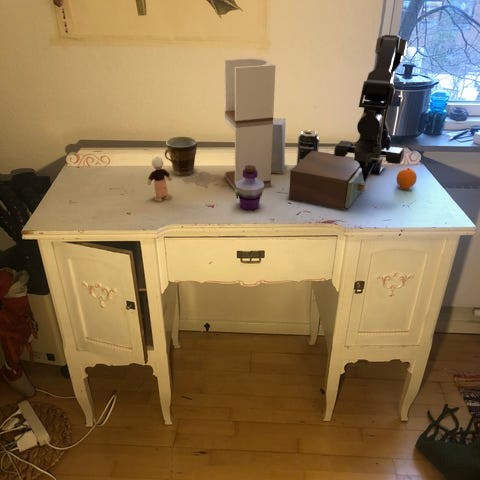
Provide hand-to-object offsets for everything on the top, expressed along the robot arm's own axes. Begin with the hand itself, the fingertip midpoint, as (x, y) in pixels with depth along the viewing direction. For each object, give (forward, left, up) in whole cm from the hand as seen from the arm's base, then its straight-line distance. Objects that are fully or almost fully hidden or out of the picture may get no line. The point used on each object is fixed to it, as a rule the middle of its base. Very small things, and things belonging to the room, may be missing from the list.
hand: (365, 181), depth 154 cm
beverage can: (-16, -23, -6) cm, 29 cm away
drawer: (0, -9, -5) cm, 10 cm away
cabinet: (0, -11, -6) cm, 13 cm away
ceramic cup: (+6, -59, -6) cm, 60 cm away
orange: (-15, +10, -6) cm, 19 cm away
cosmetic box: (-11, -33, -6) cm, 36 cm away
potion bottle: (+19, -28, -6) cm, 35 cm away
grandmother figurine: (+26, -54, -6) cm, 61 cm away
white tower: (+3, -36, -6) cm, 37 cm away
